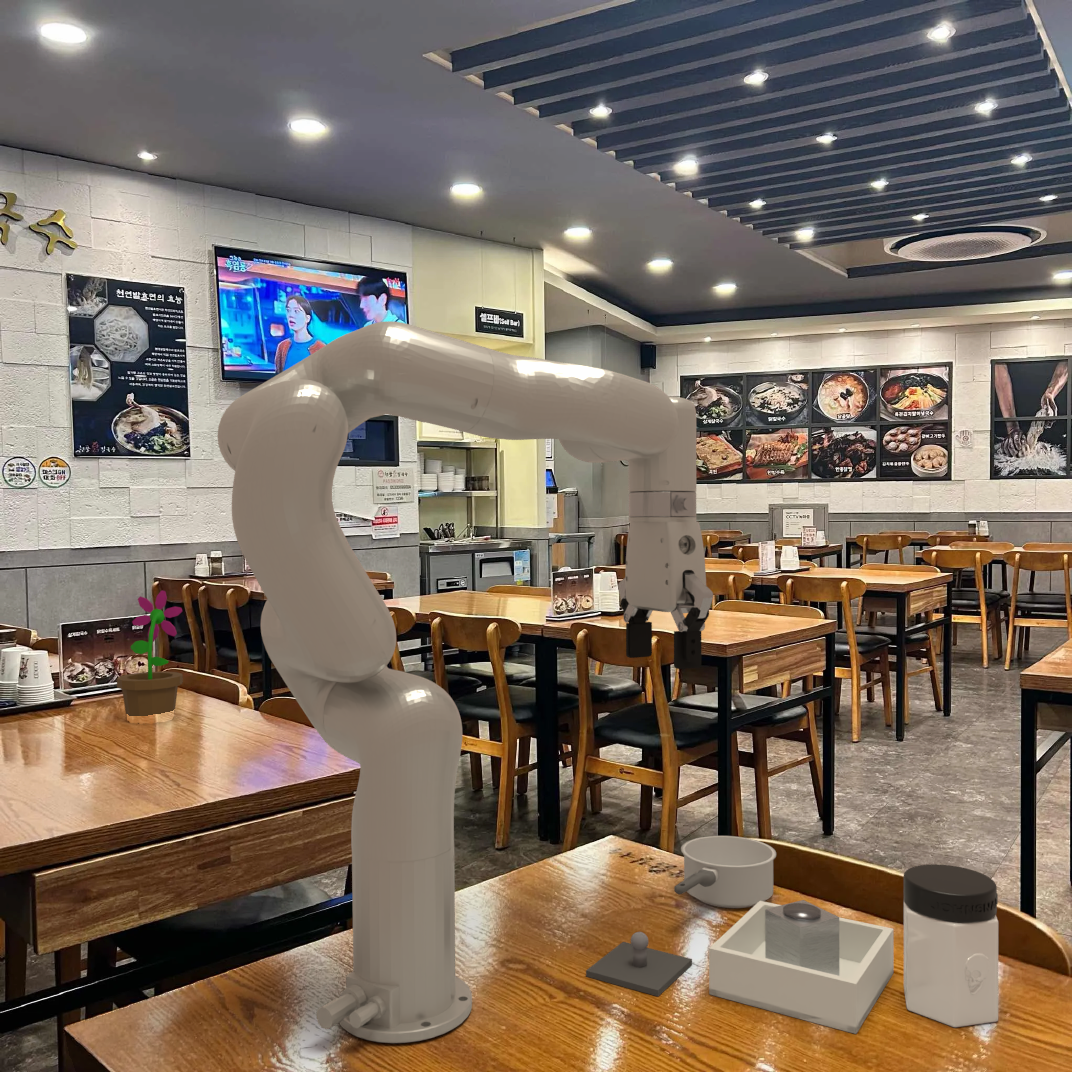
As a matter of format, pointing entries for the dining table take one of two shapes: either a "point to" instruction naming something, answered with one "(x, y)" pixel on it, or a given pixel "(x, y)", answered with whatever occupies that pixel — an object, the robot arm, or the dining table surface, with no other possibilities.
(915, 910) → the jar
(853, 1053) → the dining table surface
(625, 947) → the ball stud
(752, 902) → the saucepan
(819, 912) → the metal block
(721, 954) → the bin
